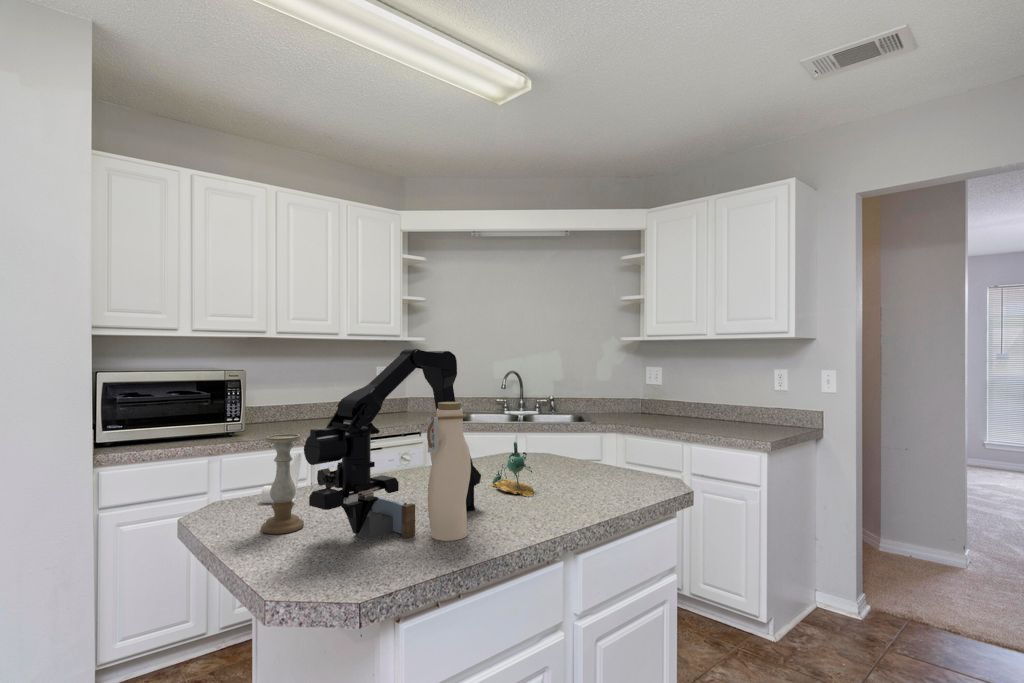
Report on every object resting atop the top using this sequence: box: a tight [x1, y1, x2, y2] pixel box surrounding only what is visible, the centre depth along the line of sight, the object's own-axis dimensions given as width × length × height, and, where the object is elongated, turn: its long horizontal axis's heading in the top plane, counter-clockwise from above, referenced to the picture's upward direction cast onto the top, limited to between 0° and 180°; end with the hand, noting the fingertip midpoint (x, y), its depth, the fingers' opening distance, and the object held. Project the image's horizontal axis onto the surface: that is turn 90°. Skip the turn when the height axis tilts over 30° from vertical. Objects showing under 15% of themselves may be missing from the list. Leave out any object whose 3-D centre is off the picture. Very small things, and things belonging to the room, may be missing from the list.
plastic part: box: [260, 452, 303, 505], centre depth 147 cm, size 8×10×12 cm
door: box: [372, 495, 405, 535], centre depth 121 cm, size 11×2×6 cm, turn 48°
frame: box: [370, 502, 416, 539], centre depth 121 cm, size 16×2×7 cm, turn 54°
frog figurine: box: [491, 441, 535, 498], centre depth 156 cm, size 10×18×15 cm, turn 31°
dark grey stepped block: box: [355, 511, 394, 540], centre depth 118 cm, size 5×6×5 cm
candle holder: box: [260, 433, 305, 535], centre depth 122 cm, size 9×9×20 cm
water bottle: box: [426, 401, 472, 542], centre depth 117 cm, size 10×9×28 cm
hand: (356, 533), depth 114 cm, fingers closed
